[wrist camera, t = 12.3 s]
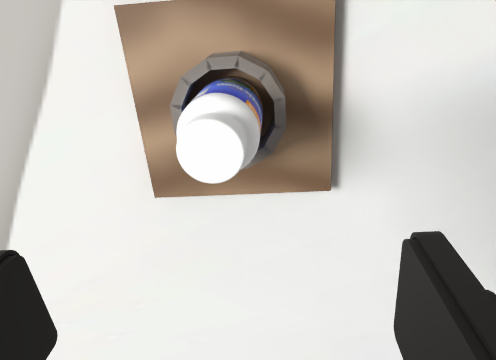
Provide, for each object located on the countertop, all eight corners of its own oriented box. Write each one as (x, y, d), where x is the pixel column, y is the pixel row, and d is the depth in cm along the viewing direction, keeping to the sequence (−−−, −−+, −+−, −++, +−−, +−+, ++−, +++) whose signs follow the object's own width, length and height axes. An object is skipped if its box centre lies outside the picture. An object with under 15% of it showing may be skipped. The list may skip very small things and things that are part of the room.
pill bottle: (277, 104, 29) (279, 146, 20) (236, 153, 31) (222, 211, 22) (222, 60, 27) (198, 84, 19) (184, 114, 29) (146, 159, 21)
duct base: (328, 184, 33) (336, 207, 29) (158, 191, 34) (144, 214, 30) (333, -14, 26) (343, -18, 22) (120, 5, 27) (95, 5, 24)
